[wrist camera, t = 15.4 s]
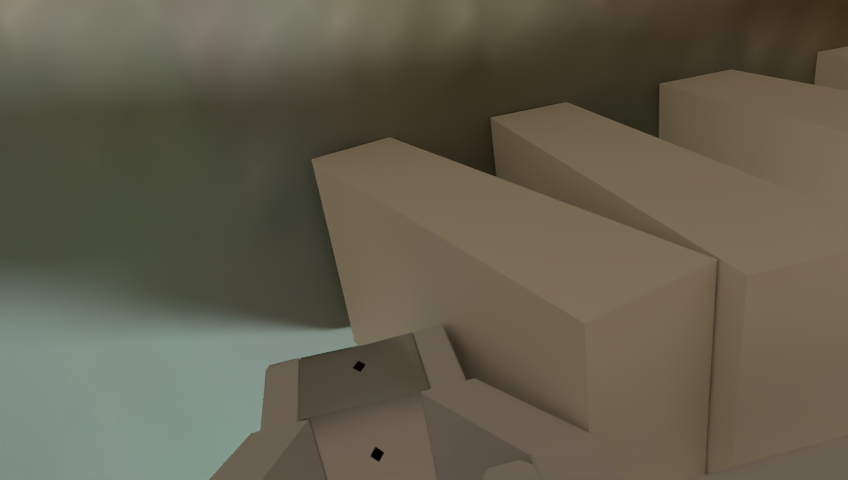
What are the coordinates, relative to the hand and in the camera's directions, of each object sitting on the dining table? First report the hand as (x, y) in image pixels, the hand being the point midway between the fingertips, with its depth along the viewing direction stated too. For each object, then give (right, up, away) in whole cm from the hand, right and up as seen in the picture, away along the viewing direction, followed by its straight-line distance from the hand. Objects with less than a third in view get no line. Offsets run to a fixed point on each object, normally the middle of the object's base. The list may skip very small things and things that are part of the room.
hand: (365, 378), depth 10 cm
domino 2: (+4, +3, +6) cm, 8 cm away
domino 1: (0, +2, +5) cm, 6 cm away
